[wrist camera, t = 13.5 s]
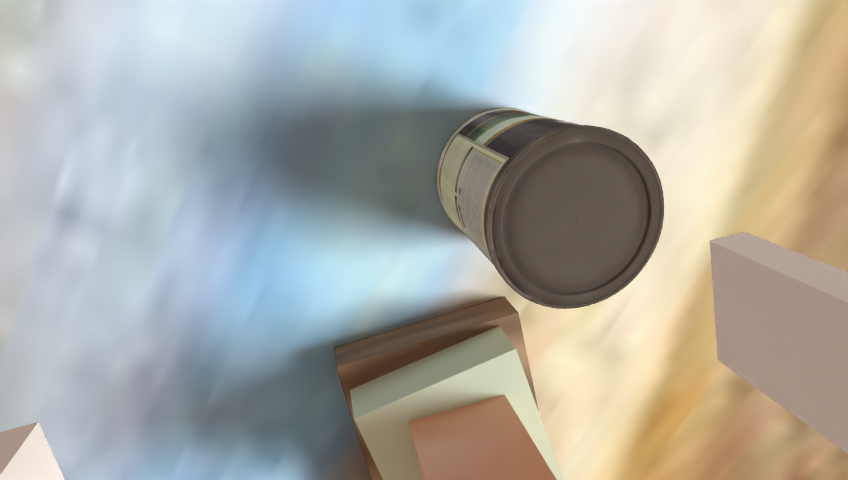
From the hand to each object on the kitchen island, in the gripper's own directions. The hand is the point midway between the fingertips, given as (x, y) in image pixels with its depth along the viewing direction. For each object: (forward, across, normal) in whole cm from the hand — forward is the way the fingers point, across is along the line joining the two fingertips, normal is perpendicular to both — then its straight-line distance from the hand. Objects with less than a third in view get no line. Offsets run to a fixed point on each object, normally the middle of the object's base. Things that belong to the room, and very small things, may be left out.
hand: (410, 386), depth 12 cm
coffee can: (+35, +12, -5) cm, 37 cm away
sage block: (+31, +4, -22) cm, 38 cm away
